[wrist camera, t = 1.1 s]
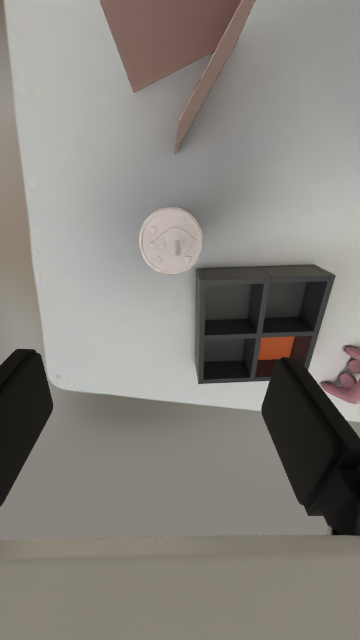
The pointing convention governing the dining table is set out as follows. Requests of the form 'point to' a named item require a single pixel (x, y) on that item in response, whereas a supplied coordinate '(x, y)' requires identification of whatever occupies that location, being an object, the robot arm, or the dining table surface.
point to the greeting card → (175, 41)
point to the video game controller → (347, 380)
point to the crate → (257, 319)
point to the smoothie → (170, 240)
